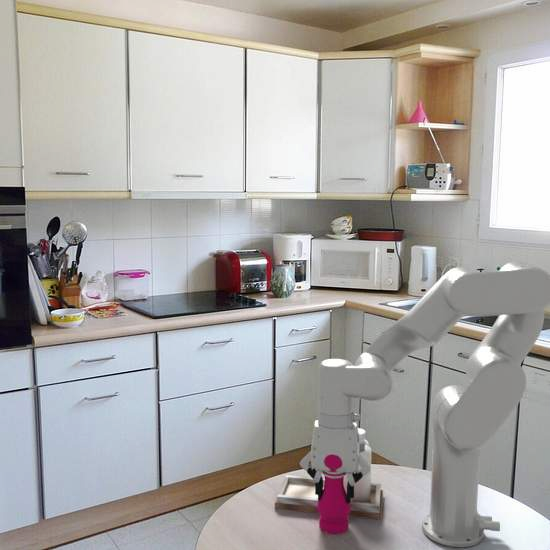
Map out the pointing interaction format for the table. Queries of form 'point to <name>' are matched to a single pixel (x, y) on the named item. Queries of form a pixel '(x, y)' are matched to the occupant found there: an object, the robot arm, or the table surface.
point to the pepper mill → (333, 499)
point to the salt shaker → (364, 484)
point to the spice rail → (302, 497)
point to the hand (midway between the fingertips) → (334, 498)
